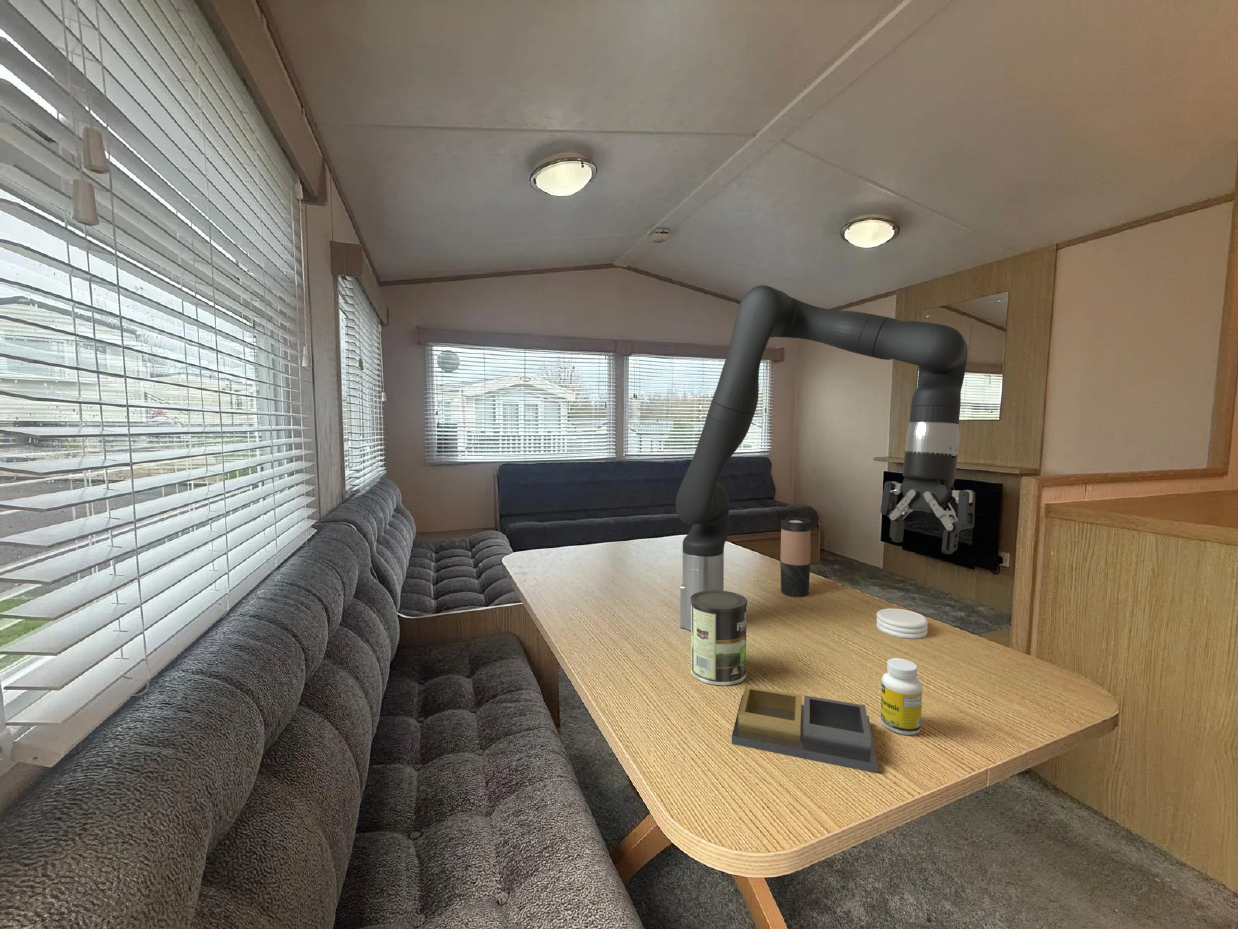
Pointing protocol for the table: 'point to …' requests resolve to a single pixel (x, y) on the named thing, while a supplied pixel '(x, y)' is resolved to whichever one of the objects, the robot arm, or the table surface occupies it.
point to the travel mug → (795, 556)
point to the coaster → (902, 623)
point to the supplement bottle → (901, 697)
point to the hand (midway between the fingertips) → (921, 547)
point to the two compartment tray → (806, 728)
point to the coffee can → (718, 637)
